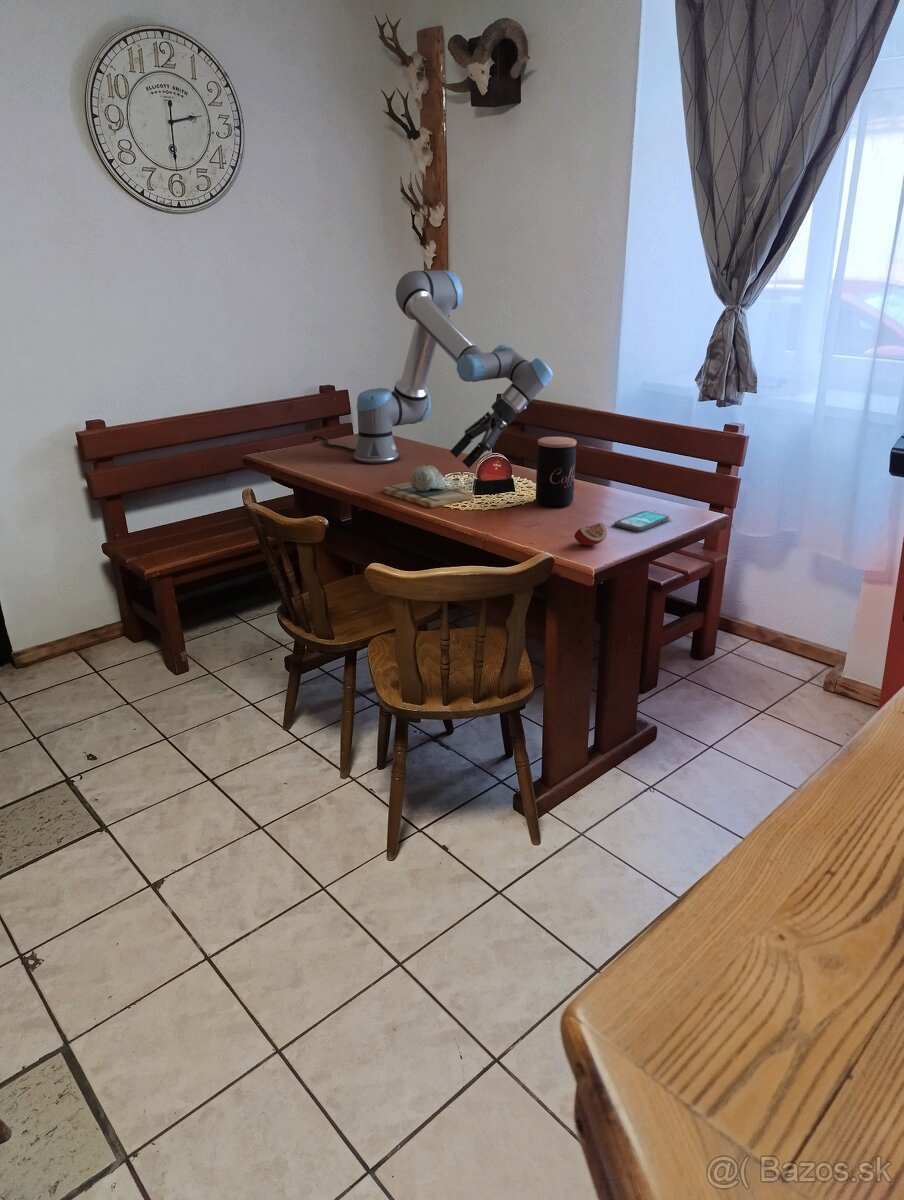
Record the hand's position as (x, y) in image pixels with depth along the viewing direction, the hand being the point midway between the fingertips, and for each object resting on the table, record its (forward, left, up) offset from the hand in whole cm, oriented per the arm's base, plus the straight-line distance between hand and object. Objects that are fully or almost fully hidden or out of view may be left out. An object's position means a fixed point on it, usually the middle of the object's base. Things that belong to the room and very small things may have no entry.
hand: (459, 459), depth 239 cm
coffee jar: (+27, +12, -10) cm, 31 cm away
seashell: (-4, -9, -8) cm, 13 cm away
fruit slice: (+57, -9, -10) cm, 59 cm away
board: (-4, -9, -10) cm, 14 cm away
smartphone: (+55, +15, -10) cm, 58 cm away
